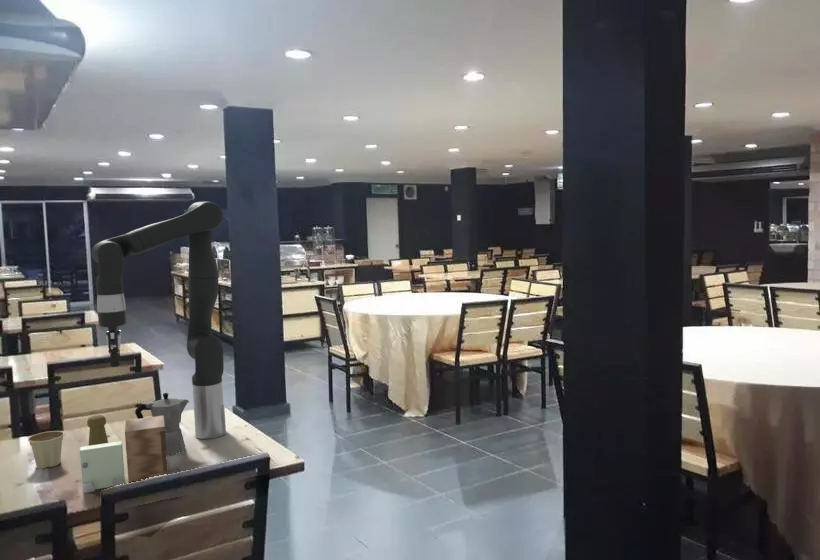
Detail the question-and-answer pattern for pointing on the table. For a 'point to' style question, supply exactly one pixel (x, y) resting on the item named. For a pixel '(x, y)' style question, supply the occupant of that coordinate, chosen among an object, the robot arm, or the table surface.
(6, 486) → the table surface
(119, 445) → the door panel
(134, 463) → the brown wooden box
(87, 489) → the small rectangular blocks
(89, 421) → the cork
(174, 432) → the coffeepot
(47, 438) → the flower pot
